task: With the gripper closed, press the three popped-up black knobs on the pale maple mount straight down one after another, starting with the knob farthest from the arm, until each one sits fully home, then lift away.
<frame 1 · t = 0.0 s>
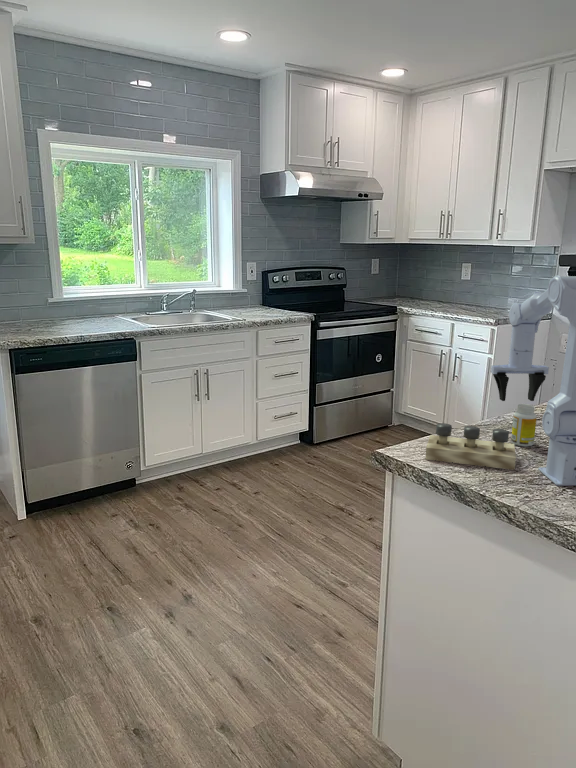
hand: (516, 400, 153), 10 cm above the counter, tool pointing down, fingers open, 7 cm apart
knob mount: (469, 457, 140), on the counter
knob middle: (471, 438, 138), point 5 cm above the counter, slide at 0.0 cm
knob near: (499, 441, 136), point 5 cm above the counter, slide at 0.0 cm
knob far: (443, 435, 140), point 5 cm above the counter, slide at 0.0 cm
supplement bottle: (522, 444, 150), on the counter
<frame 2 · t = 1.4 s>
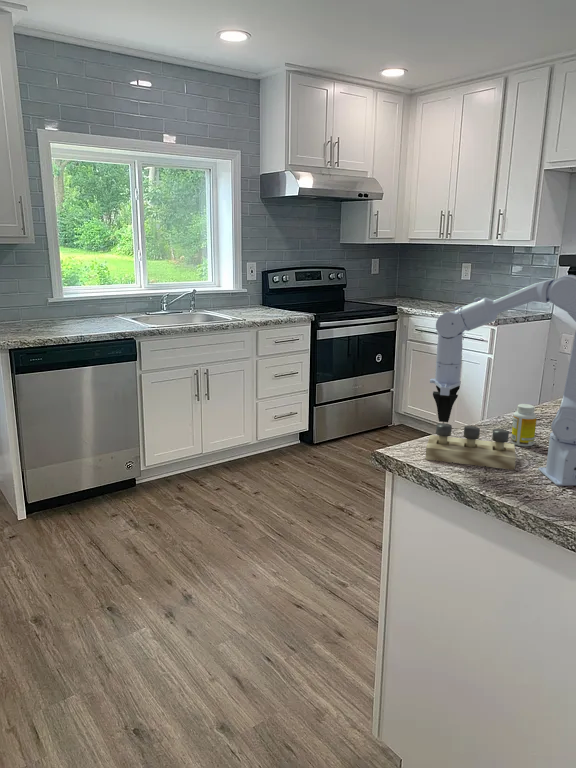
hand: (444, 417, 139), 9 cm above the counter, tool pointing down, fingers open, 6 cm apart
nothing on the counter moved.
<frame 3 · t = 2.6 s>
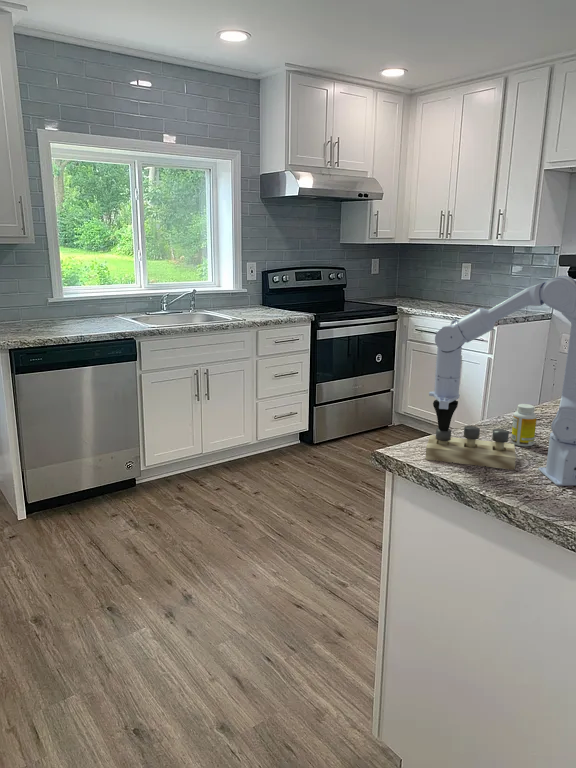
hand: (443, 430, 140), 6 cm above the counter, tool pointing down, fingers closed, pressing on knob far
knob far: (443, 440, 141), point 4 cm above the counter, slide at 1.2 cm, touching gripper
everything else where it was.
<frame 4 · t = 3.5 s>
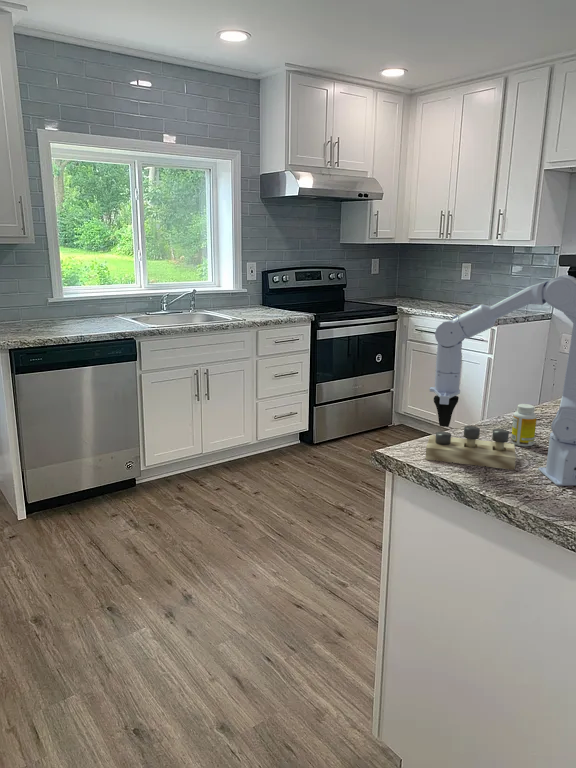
hand: (444, 425, 140), 7 cm above the counter, tool pointing down, fingers closed
knob far: (442, 444, 141), point 3 cm above the counter, slide at 2.2 cm
everything else where it was.
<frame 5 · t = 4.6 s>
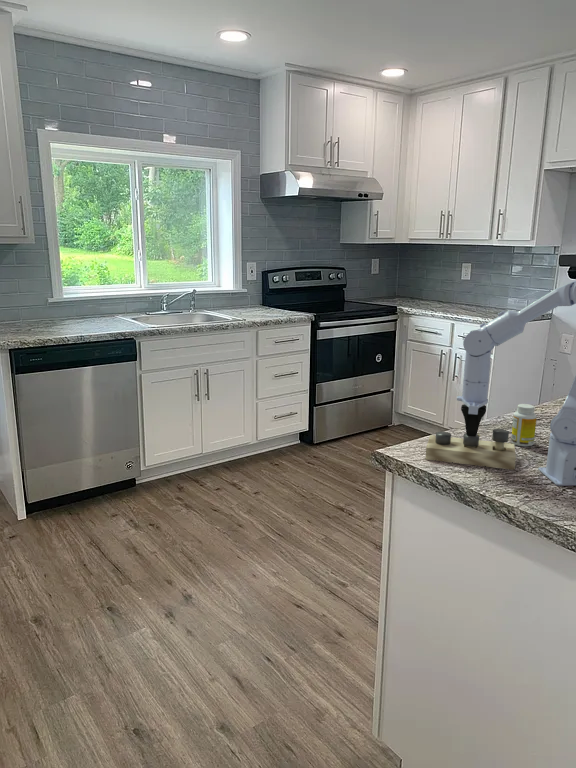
hand: (471, 435, 138), 6 cm above the counter, tool pointing down, fingers closed, pressing on knob middle
knob middle: (470, 445, 139), point 3 cm above the counter, slide at 1.8 cm, touching gripper
everything else where it was.
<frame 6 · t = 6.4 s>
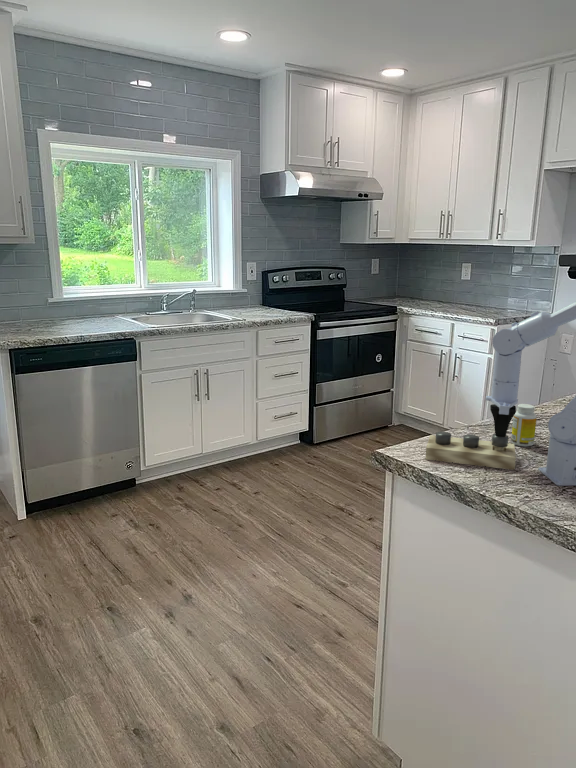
hand: (500, 435, 136), 6 cm above the counter, tool pointing down, fingers closed, pressing on knob near
knob middle: (470, 447, 139), point 3 cm above the counter, slide at 2.2 cm
knob near: (499, 446, 137), point 4 cm above the counter, slide at 1.2 cm, touching gripper
everything else where it was.
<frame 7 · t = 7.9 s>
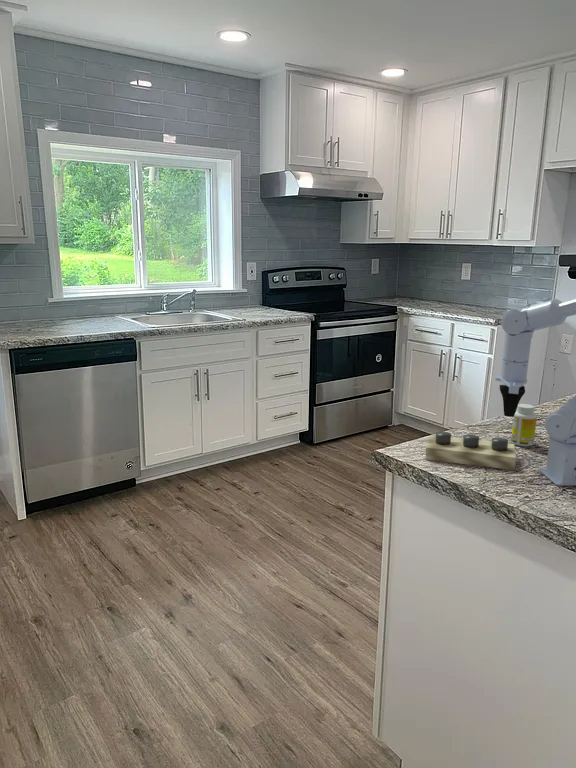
hand: (508, 415, 138), 10 cm above the counter, tool pointing down, fingers closed
knob near: (499, 450, 137), point 3 cm above the counter, slide at 2.2 cm
everything else where it was.
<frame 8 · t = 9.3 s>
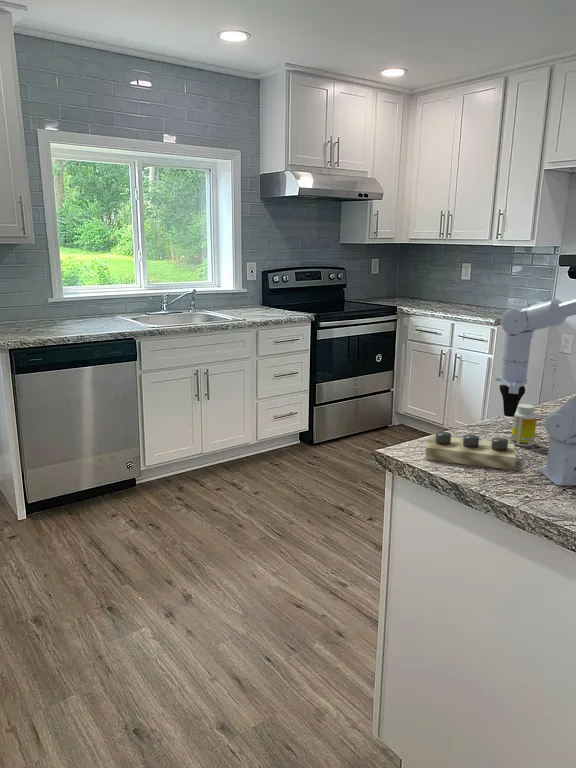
hand: (509, 415, 138), 10 cm above the counter, tool pointing down, fingers closed
nothing on the counter moved.
at the end: knob far slide at 2.2 cm; knob middle slide at 2.2 cm; knob near slide at 2.2 cm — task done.
